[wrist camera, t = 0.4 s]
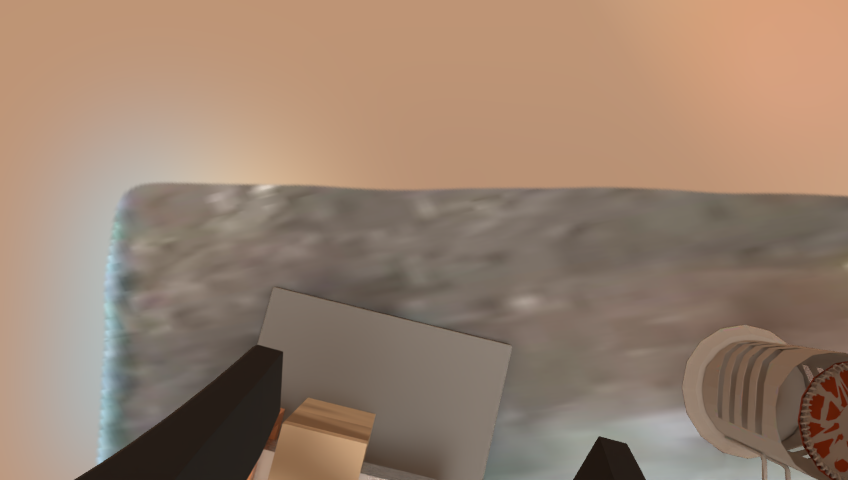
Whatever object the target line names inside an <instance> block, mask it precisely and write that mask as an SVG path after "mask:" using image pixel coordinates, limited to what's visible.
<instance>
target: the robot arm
mask: <svg viewBox="0 0 848 480" xmlns="http://www.w3.org/2000/svg"><path fill="white" fill-rule="evenodd" d="M282 367H283V351H280V350H276V349H272V348H269V347H265V346H261V345H256V346H254V347H252V348H251V349H250V350H249V351H248V352H247V353H245V354H244V355H243V356H242V357H241V358H240V359H239V360H237V361H236V362H235V363H234V364H233V365H232V366H230V367H229V368H228V369H227V370H226V371H225V372H223V373H222V374H221V375H220V376H219V377H217V378H216V379H215V380H214V381H213V382H211V383H210V384H209V385H208V386H206V387H205V388H204V389H203V390H201V391H200V392H199V393H198V394H196V395H195V396H194V397H193V398H191V399H190V400H189V401H187V402H186V403H185V404H184V405H182V406H181V407H180V408H178V409H177V410H176V411H175V412H173V413H172V414H171V415H169V416H168V417H167V418H165V419H164V420H162V421H161V422H160V423H158V424H157V425H155V426H154V427H153V428H151V429H150V430H149V431H147V432H146V433H144V434H143V435H142V436H140V437H139V438H137V439H136V440H135V441H133V442H132V443H130V444H129V445H127V446H126V447H124V448H123V449H121V450H120V451H118V452H117V453H115V454H114V455H112V456H111V457H109V458H108V459H106V460H105V461H103V462H102V463H100V464H99V465H97V466H96V467H94V468H92V469H91V470H89V471H88V472H86V473H84V474H83V475H81V476H80V477H78V478H76V479H75V480H247V479H248V477H249V475H250V473H251V472H252V470H253V468H254V466H255V465H256V463H257V461H258V459H259V458H260V456H261V454H262V452H263V449H264V447H265V445H266V443H267V441H268V438H269V436H270V434H271V431H272V429H273V427H274V424H275V422H276V420H277V418H278V415H279V413H280V406H281V387H282ZM573 480H646V479H645V477H644V475H643V473H642V471H641V470H640V468H639V466H638V464H637V462H636V460H635V458H634V456H633V454H632V452H631V451H630V449H629V447H628V445H627V444H626V443H622V442H618V441H615V440H611V439H607V438H604V437H600V436H599V437H598V439H597V440H596V442H595V444H594V446H593V447H592V449H591V451H590V452H589V454H588V456H587V457H586V459H585V461H584V462H583V464H582V466H581V467H580V469H579V471H578V472H577V474H576V476H575V478H574V479H573Z"/></svg>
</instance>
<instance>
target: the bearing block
mask: <svg viewBox="0 0 848 480" xmlns="http://www.w3.org/2000/svg"><path fill="white" fill-rule="evenodd" d="M375 415H376V414H373V413H369V412H365V411H361V410H357V409H353V408H349V407H344V406H340V405H336V404H332V403H328V402H324V401H320V400H316V399H312V398H307V399H306V400H305V401H304V402H303V403H302V404H301V405H300V406H299V407H298V408H297V409H296V410H295V411H294V412H293V413H292V414H291V415H290V416H289V417H288V418H287V419H286V420H285V421H284V422H283V424H282V428H281V431H280V435H279V439H278V443H277V446H276V450H275V454H274V458H273V461H272V465H271V469H270V473H269V476H268V480H358V479H359V475H360V471H361V467H362V464H363V462H364V460H365V456H366V452H367V447H368V443H369V439H370V435H371V431H372V427H373V423H374V419H375Z"/></svg>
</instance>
